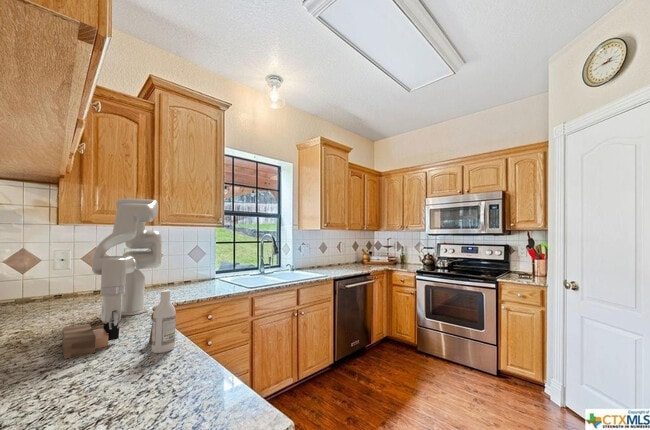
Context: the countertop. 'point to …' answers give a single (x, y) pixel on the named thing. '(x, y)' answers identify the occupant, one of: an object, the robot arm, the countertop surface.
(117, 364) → the countertop surface
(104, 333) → the tile
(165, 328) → the bath foam
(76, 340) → the shelf
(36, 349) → the countertop surface
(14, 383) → the countertop surface
